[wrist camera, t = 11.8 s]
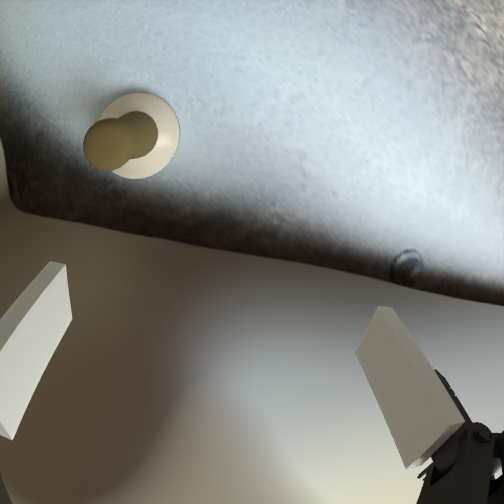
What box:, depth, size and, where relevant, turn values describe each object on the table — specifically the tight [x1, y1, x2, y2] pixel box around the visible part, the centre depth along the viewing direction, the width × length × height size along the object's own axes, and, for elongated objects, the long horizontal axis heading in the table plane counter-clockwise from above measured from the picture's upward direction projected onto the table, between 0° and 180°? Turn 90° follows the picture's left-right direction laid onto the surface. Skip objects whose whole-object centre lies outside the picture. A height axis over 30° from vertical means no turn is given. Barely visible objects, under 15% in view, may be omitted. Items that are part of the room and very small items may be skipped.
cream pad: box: [98, 93, 180, 179], centre depth 36 cm, size 11×11×2 cm
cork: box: [83, 111, 158, 171], centre depth 30 cm, size 6×6×11 cm
